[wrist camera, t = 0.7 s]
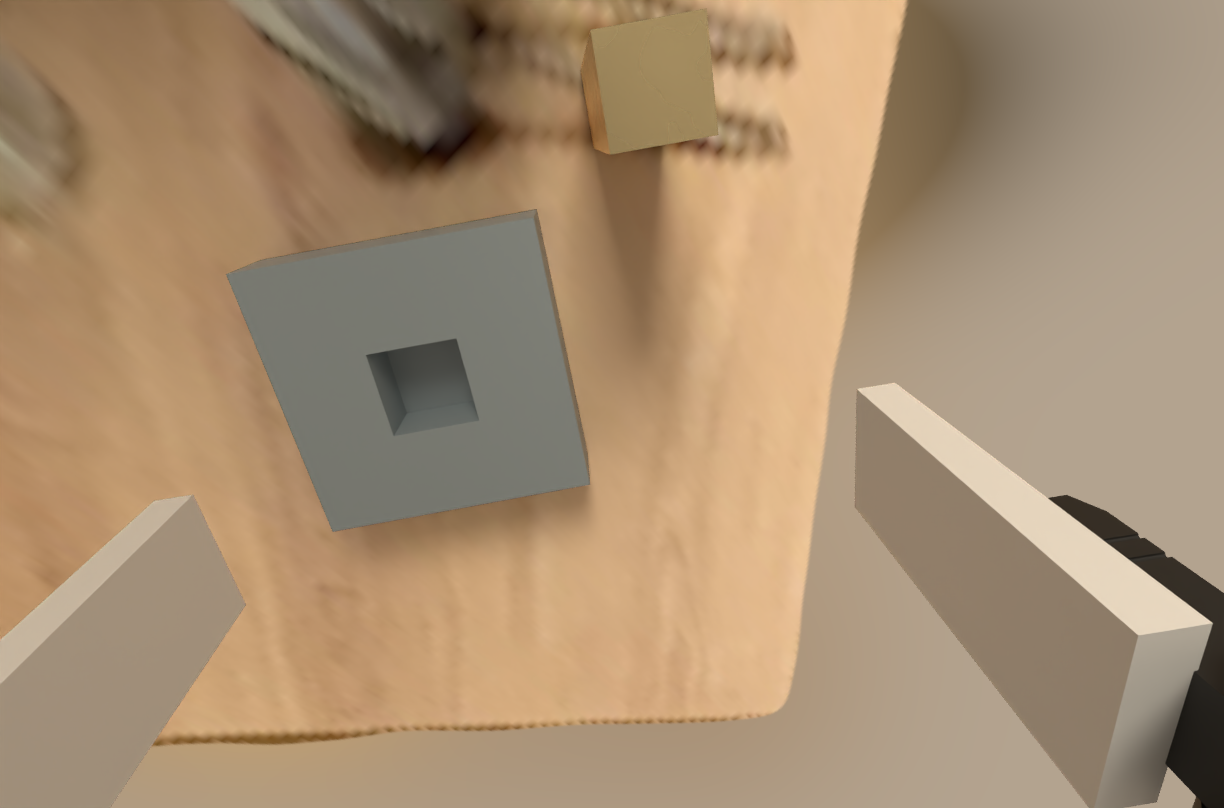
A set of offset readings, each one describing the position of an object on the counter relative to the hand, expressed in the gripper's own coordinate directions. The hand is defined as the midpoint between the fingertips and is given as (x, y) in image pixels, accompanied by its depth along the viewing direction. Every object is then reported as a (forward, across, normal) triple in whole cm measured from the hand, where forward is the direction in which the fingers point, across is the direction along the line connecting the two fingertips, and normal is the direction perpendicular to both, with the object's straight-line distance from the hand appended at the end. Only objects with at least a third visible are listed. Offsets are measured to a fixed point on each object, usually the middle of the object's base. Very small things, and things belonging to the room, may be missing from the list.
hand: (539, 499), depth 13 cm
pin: (+22, +5, +7) cm, 24 cm away
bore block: (+22, -7, -4) cm, 23 cm away
